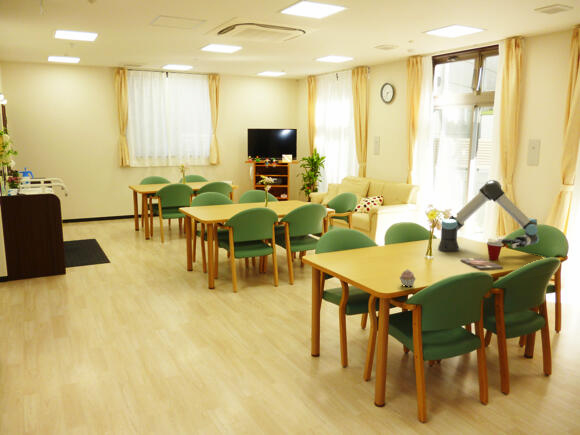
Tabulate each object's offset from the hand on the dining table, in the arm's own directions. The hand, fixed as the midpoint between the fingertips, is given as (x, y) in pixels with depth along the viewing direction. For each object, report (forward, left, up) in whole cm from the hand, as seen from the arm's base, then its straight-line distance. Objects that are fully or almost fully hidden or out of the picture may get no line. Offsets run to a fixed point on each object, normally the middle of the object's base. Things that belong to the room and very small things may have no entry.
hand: (504, 244), depth 329 cm
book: (+14, -26, -10) cm, 31 cm away
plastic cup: (+3, -9, -10) cm, 14 cm away
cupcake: (+47, -94, -10) cm, 106 cm away
